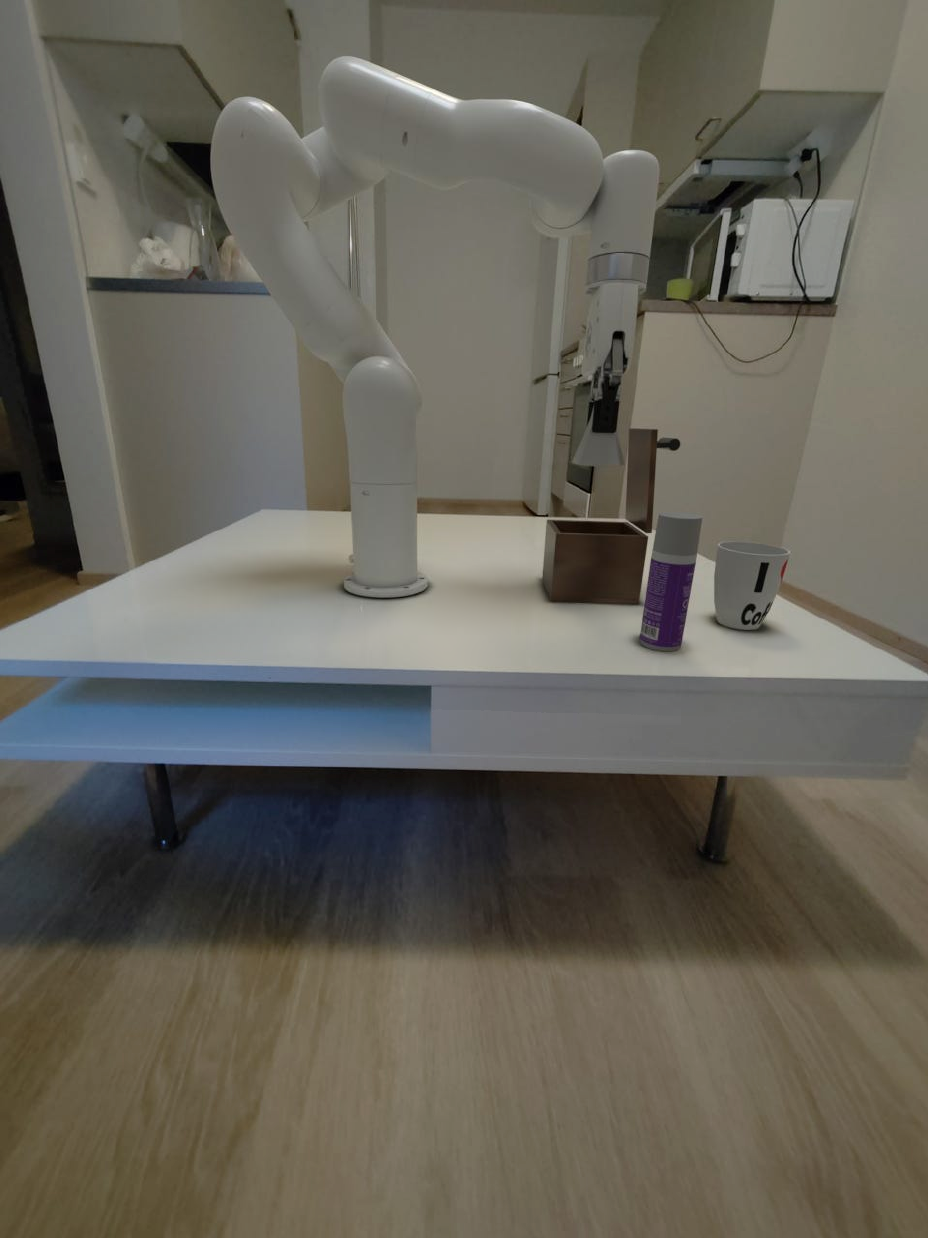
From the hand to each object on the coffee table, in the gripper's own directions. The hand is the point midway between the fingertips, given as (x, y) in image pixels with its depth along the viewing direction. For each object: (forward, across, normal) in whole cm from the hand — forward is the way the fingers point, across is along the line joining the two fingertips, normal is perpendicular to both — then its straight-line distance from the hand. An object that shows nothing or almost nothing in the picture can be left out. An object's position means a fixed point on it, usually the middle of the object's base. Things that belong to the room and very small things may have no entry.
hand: (600, 430), depth 75 cm
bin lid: (+6, -1, +6) cm, 9 cm away
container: (+23, +20, +5) cm, 31 cm away
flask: (+5, 0, 0) cm, 5 cm away
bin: (+23, -1, 0) cm, 23 cm away
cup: (+23, +12, +18) cm, 32 cm away
